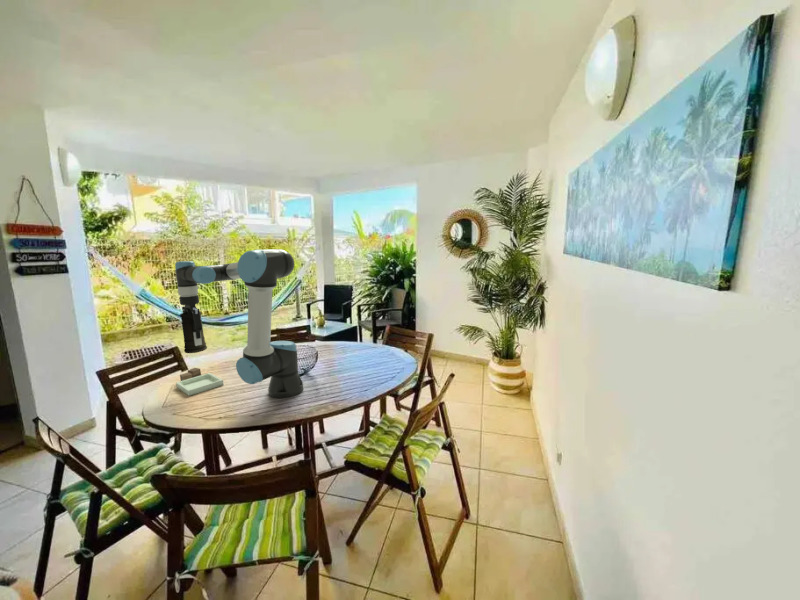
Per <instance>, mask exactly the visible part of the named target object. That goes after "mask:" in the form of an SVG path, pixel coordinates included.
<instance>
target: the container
mask: <svg viewBox="0 0 800 600" xmlns="http://www.w3.org/2000/svg"><path fill="white" fill-rule="evenodd" d="M199 312H200V319H201V324H202V325H203V321H202V320H203V319H202V311H201V310H199ZM179 317H180V319H181V326H182V333H183V334H182V335H183V342H184V346H183V348H184V349H183V352H184V353H185V354H197V353H200V352H201V353H202V352H204V351H206V350H207V348H208V346H207V343H206V338H205V335H204V329H203V326H202V330H201V331H200V332H201V340H202V345H198V346H195V342H194V334H193V331H194V329H193V323H192V320H194V319H193V314H188V313H183V312H181V313H180V314H179Z"/></svg>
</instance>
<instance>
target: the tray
mask: <svg viewBox="0 0 800 600" xmlns="http://www.w3.org/2000/svg"><path fill="white" fill-rule="evenodd" d="M175 383H176V388H177V390H179V391H181V392H182V393H184V394H185V395H186V396H188V397H190V396H193V395H196V394H200V393H202V392H205V391H209V390H212V389H214V388H218V387H221V386H224V380H223V379H222V378H220V377H218V376H217V375H215V374H213V373H211V372H208V373H204V374H201V375H200V376H197V377H193V378H190V379H187V380H183V381H181V380H180V381H177V382H175Z"/></svg>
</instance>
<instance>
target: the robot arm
mask: <svg viewBox="0 0 800 600" xmlns="http://www.w3.org/2000/svg"><path fill="white" fill-rule="evenodd" d="M174 267H175V269H174V271H175V278H176V284H177V293H178V296H179V297H178V298H179V299H178V300H179V305H181V306H182V307H181V310H182V313H188V314H193V319H194V320H192V323H193V329H194V331H193V334H194V342H195V346H198V345H202V340H201V332H200V331H201V330H202V327H203V323H202V324H201V320H202V318H201V319H200V312H201V311H200V308H197V306H196V305H197V304H199V303H200V295H199V286H198V284H202V285H205V284H212V283H216V282H223V281H225V282H226V281H234V280H237V279H238V280H239V279H240V280H242V281H243V282H244V283H243V285H244V286H245V287H246V288H247V289H248V294H247V295H248V296H247V297H248V305H247V306H248V307H247V308H248V309H247V341H246V343H247V344H246V345H247V346H246V347H244V348H243V350H242V357H240V358H239V359H238V360H236V364H235V370H236V372H237V375H238V376H239V378H240V379H241V380H242V381H243V382H244V383H246V384H249V385H255V384H257V383H261V382H263V381H264V380H267V379H268V378H270V381H269V385H268V388H267V391H268V392H267V393H268V396H269V397H271V398H275V399H286V398H291V397H294V396H297V395H299V394H301V393H302V391H304V383H303V381H302V378H301V375H300V373H299V362H298V350H297V344H296V343H295V342H294V341H292V340H291V341H290V340H275V341H271V337H272V335H271V334H272V333H271V332H272V314H273V313H272V309H273V291H274V289H275V288H276V287H277V286H278V279H282V278H286V277H288V276H290V274H292V273H293V271H294V269H295V261H294V257H293V256H292V254H291V253H289V252H288V251H287V250H284V249H280V248H278V249H277V248H276V249H275V248H274V249H253V250H248V251H245V252H243V254H241V256H240V257H239V259H238V261H236V262H231V263H230V262H229V263H223V264H212V265H210V264H209V265H196V263H195V262H194V261H193V260H186V261H182V260H181V261H176V262H175V266H174ZM199 311H200V312H199Z"/></svg>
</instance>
